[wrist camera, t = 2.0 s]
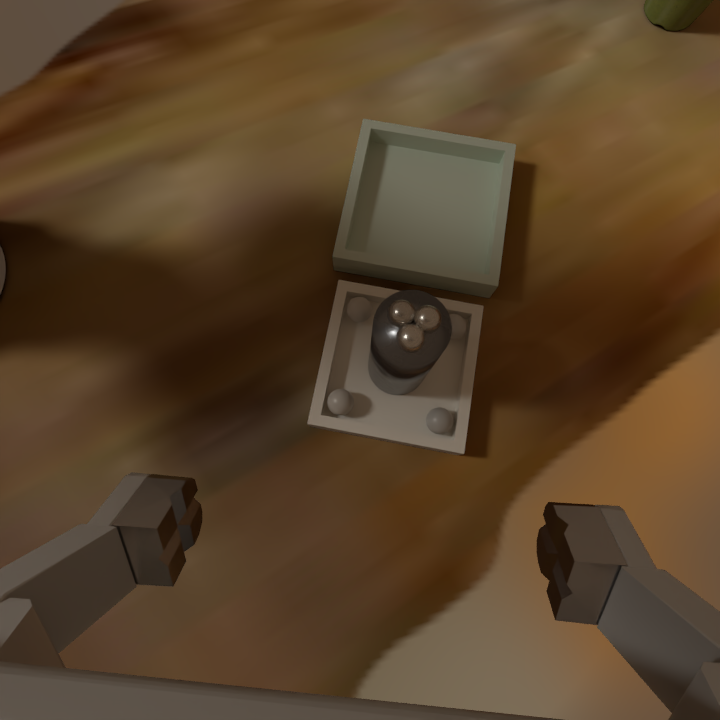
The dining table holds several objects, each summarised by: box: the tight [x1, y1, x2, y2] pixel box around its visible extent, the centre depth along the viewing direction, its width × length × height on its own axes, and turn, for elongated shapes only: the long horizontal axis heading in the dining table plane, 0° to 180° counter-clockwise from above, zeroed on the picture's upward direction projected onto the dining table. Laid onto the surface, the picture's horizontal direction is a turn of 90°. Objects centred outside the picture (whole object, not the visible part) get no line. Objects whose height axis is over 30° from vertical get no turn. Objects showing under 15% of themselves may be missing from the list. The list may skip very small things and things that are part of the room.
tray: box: [307, 280, 484, 455], centre depth 43 cm, size 14×14×3 cm
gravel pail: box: [368, 290, 452, 395], centre depth 37 cm, size 6×6×13 cm
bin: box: [332, 119, 516, 298], centre depth 47 cm, size 16×16×3 cm
